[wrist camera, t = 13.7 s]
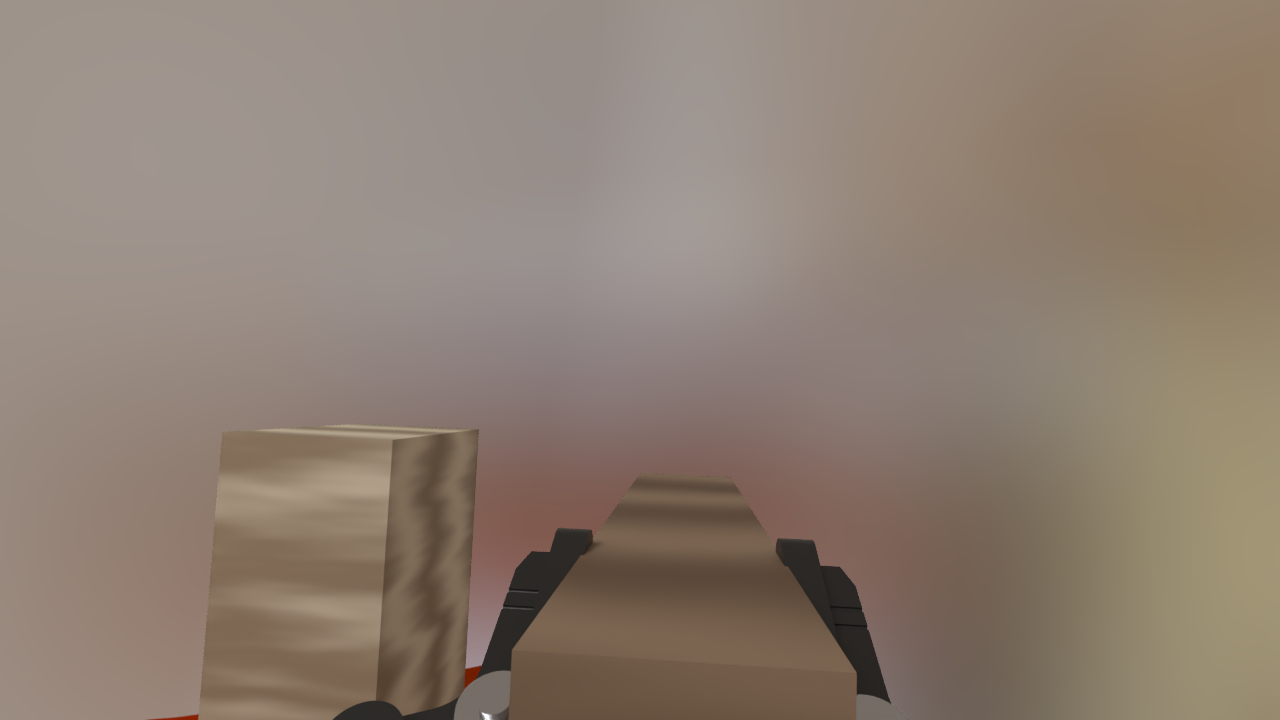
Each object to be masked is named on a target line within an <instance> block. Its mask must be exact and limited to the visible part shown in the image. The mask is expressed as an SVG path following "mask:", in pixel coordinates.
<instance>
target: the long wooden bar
mask: <svg viewBox="0 0 1280 720" xmlns="http://www.w3.org/2000/svg"><path fill="white" fill-rule="evenodd" d="M856 699H857V673H856V671H855V670H854V668H853V666H852V665H851V663H850V662H849V660H848V659H847V657H846V656H845V654H844V653H843V651H842V649H841V648H840V646H839V645H838V643H837V642H836V640H835V639H834V637H833V635H832V634H831V632H830V631H829V629H828V628H827V626H826V625H825V623H824V622H823V620H822V618H821V617H820V615H819V614H818V612H817V611H816V609H815V608H814V606H813V604H812V603H811V601H810V600H809V598H808V597H807V595H806V594H805V592H804V591H803V589H802V587H801V586H800V584H799V583H798V581H797V580H796V578H795V577H794V575H793V573H792V572H791V570H790V569H789V567H788V566H784V564H783V563H782V561H781V560H780V558H779V556H778V555H777V553H776V547H775V546H774V544H773V542H772V541H771V539H770V538H769V536H768V535H767V533H766V532H765V530H764V529H763V527H762V526H761V524H760V522H759V521H758V519H757V518H756V516H755V515H754V513H753V511H752V510H751V508H750V507H749V505H748V504H747V502H746V501H745V499H744V497H743V496H742V494H741V493H740V491H739V490H738V488H737V487H736V485H735V484H734V482H733V480H732V479H731V478H730V477H709V476H687V475H665V474H642V473H641V474H640V475H639V476H638V478H637V479H636V480H635V482H634V483H633V484H632V486H631V487H630V488H629V490H628V491H627V493H626V494H625V495H624V497H623V498H622V500H621V501H620V503H619V504H618V505H617V507H616V508H615V509H614V510H613V512H612V513H611V515H610V516H609V517H608V519H607V520H606V522H605V523H604V524H603V526H602V527H601V528H600V530H599V531H598V533H597V534H596V535H595V537H594V538H593V543H592V544H591V546H590V547H589V548H588V550H587V551H586V553H585V554H584V555H581V556H580V557H579V559H578V560H577V561H576V563H575V564H574V566H573V567H572V568H571V570H570V571H569V572H568V574H567V575H566V577H565V578H564V579H563V581H562V582H561V583H560V585H559V586H558V588H557V589H556V590H555V592H554V593H553V594H552V596H551V597H550V599H549V600H548V601H547V603H546V604H545V605H544V607H543V608H542V610H541V611H540V612H539V614H538V615H537V616H536V618H535V619H534V621H533V622H532V623H531V625H530V626H529V627H528V629H527V630H526V632H525V633H524V634H523V636H522V637H521V638H520V640H519V641H518V643H517V644H516V645H515V647H514V648H513V649H512V659H511V679H510V699H509V719H508V720H856Z"/></svg>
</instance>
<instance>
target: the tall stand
mask: <svg viewBox="0 0 1280 720" xmlns="http://www.w3.org/2000/svg"><path fill="white" fill-rule="evenodd" d="M478 434H479V430H478V429H458V428H436V427H434V428H433V427H413V426H391V425H390V426H389V425H368V424H350V425H333V426H318V427H317V426H316V427H300V428H284V429H267V430H251V431H235V432H222V442H221V455H220V466H219V479H218V490H217V502H216V514H215V526H214V538H213V550H212V562H211V575H210V586H209V598H208V610H207V622H206V634H205V647H204V658H203V670H202V682H201V695H200V706H199V718H198V720H333V719H334V718H335V717H336V716H337V715H338V714H340V713H341V712H343V711H344V710H346V709H348V708H349V707H352V706H354V705H356V704H359V703H362V702H367V701H385V702H388V703H390V704H392V705H394V706H395V707H396V708H397V709H398V710H399V711H400V713H401V714H402V716H404V715H409V714H413V713H417V712H421V711H425V710H429V709H433V708H437V707H440V706H443V705H445V704H447V703H449V702H451V701H453V700H455V699H456V698H458V697H459V696H460V695H461V694H462V692H463V691H464V682H465V664H466V647H467V629H468V611H469V593H470V576H471V558H472V540H473V521H474V505H475V486H476V469H477V452H478Z"/></svg>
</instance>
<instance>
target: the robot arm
mask: <svg viewBox="0 0 1280 720" xmlns="http://www.w3.org/2000/svg"><path fill="white" fill-rule="evenodd" d="M592 543H593V535H592V531H591V530H586V529H567V528H558V529H557V531H556V534H555V537H554V540H553V544H552V547H551V550H550V552H534V551H532V552H531V553H530V554H529V555H528V556H527V557H526V558H525V559H524V560H523V561H522V563H521V564H520V565H519V566H518V567H517V568H516V570H515V573H514V576H513V579H512V581H511V584H510V587H509V592H508V593H507V596H506V599H505V601H504V604H503V609H502V610H501V613H500V616H499V618H498V621H497V624H496V627H495V630H494V633H493V636H492V638H491V641H490V644H489V647H488V650H487V653H486V655H485V658H484V661H483V664H482V667H481V669H480V672H479V674H478V676H477V678H476V679H475V681H473V682H472V683H471V684H470V685H469V686H468V687H466V689H465V690H464V691H463V692H462V694H461V695H460V696H459V697H458V698H456V699H455V700H453V701H451V702H449V703H447V704H445V705H443V706H440V707H437V708H433V709H429V710H425V711H421V712H417V713H413V714H409V715H404V716H402V714H401V713H400V711H399V710H398V709H397V708H396V707H395V706H394V705H392V704H390V703H388V702H385V701H367V702H362V703H359V704H356V705H354V706H352V707H349V708H348V709H346V710H344V711H343V712H341V713H340V714H338V715H337V716H336V717H335V718H334V719H333V720H508V719H509V699H510V679H511V659H512V649H513V648H514V647H515V645H516V644H517V643H518V641H519V640H520V638H521V637H522V636H523V634H524V633H525V632H526V630H527V629H528V627H529V626H530V625H531V623H532V622H533V621H534V619H535V618H536V616H537V615H538V614H539V612H540V611H541V610H542V608H543V607H544V605H545V604H546V603H547V601H548V600H549V599H550V597H551V596H552V594H553V593H554V592H555V590H556V589H557V588H558V586H559V585H560V583H561V582H562V581H563V579H564V578H565V577H566V575H567V574H568V572H569V571H570V570H571V568H572V567H573V566H574V564H575V563H576V561H577V560H578V559H579V557H580V556H581V555H584V554H585V553H586V551H587V550H588V548H589V547H590V546H591V544H592ZM776 553H777V555H778V556H779V558H780V560H781V561H782V563H783V564H784V566H788V567H789V569H790V570H791V572H792V573H793V575H794V577H795V578H796V580H797V581H798V583H799V584H800V586H801V587H802V589H803V591H804V592H805V594H806V595H807V597H808V598H809V600H810V601H811V603H812V604H813V606H814V608H815V609H816V611H817V612H818V614H819V615H820V617H821V618H822V620H823V622H824V623H825V625H826V626H827V628H828V629H829V631H830V632H831V634H832V635H833V637H834V639H835V640H836V642H837V643H838V645H839V646H840V648H841V649H842V651H843V653H844V654H845V656H846V657H847V659H848V660H849V662H850V663H851V665H852V666H853V668H854V670H855V671H856V673H857V699H856V720H908V719H907V718H906V716H905V715H904V714H903V713H902V712H901V711H899V710H898V709H897V708H896V707H895V706H893V705H892V704H891V702H890V699H889V697H888V694H887V690H886V687H885V684H884V680H883V677H882V674H881V670H880V667H879V663H878V660H877V657H876V653H875V650H874V647H873V643H872V640H871V637H870V633H869V631H868V630H867V623H866V620H865V617H864V613H863V612H862V606H861V603H860V600H859V596H858V593H857V590H856V587H855V585H854V584H853V583H852V581H851V580H850V579H849V578H848V577H847V575H846V574H845V573H844V571H843V570H842V569H841V568H840V567H832V566H820V563H819V559H818V554H817V551H816V547H815V543H814V541H813V540H801V539H780V538H779V539H778V540H777V543H776Z"/></svg>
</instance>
